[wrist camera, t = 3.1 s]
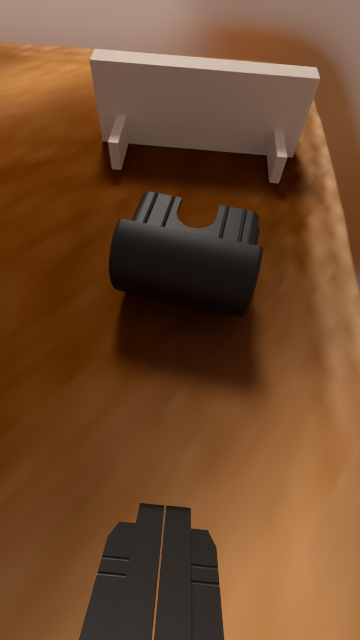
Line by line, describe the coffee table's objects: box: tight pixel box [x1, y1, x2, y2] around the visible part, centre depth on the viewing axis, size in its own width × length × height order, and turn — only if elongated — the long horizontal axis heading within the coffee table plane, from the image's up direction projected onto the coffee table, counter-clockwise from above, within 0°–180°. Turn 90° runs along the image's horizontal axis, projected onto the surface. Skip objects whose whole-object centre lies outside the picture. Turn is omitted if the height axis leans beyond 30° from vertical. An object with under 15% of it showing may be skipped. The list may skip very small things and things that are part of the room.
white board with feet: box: [90, 49, 320, 183], centre depth 35 cm, size 22×7×8 cm, turn 86°
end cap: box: [109, 192, 263, 317], centre depth 26 cm, size 10×7×7 cm
